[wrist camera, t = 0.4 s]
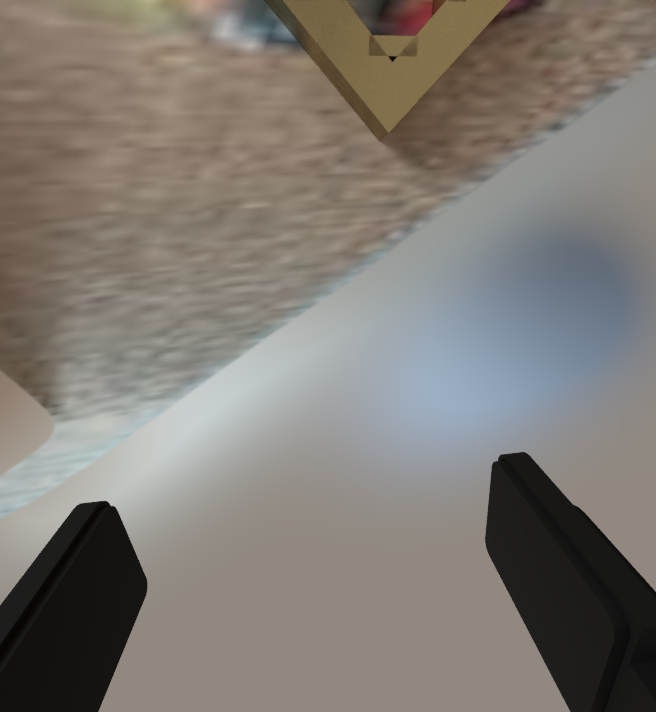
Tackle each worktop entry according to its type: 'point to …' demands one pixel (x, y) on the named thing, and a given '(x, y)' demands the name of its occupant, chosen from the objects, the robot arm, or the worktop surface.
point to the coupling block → (383, 52)
